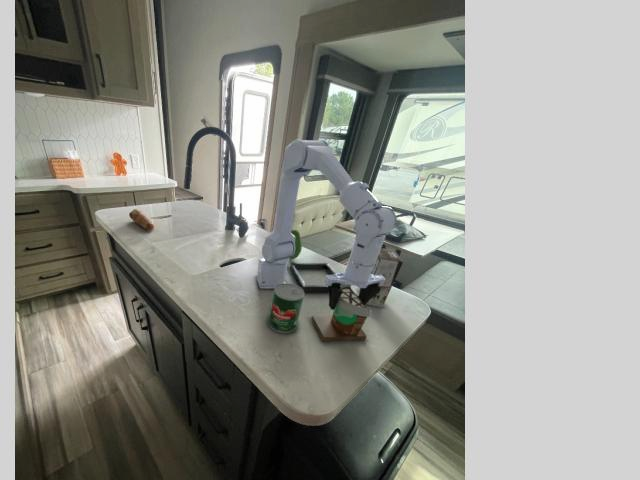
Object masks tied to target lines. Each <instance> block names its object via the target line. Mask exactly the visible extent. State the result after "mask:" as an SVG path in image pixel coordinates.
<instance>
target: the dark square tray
mask: <svg viewBox="0 0 640 480" xmlns="http://www.w3.org/2000/svg"><path fill="white" fill-rule="evenodd" d="M299 271H325V272H326V273H327V274H326V275H333V274H337V273H336V271H335V270H334V269H333V267H332V266H331V265H330V264H329V262H290V263H289V272H290V273H291V274H292V277H293V279H294V280H295V282H296V284H297V286H299V287H300V288H302V290H303V291H304V294H329V291H328V287H327V285H326V284H306V283H305V281H304V279H303V277H302V276H301V275H300V273H299ZM343 285H346V284H341V285H340V286H343Z"/></svg>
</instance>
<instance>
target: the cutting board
mask: <svg viewBox="0 0 640 480" xmlns="http://www.w3.org/2000/svg"><path fill="white" fill-rule="evenodd" d="M332 315H333V314H331V315H312V317H311V321H312V323H313V325H314V328H315V330H316V331H317V333H318V335H319V338H320V339H321V342H341V341H342V342H345V341H347V342H348V341H365V340H366V338H367V334H366V333H365V332H364V330H363V329H362V328H361V329H360V331H359V333H358V335H357V337H352V336H347V335H344V334H342V333H340V332H338V331H337V330H336V329H335V328H334V327H333V326H332V324H331V319H332Z"/></svg>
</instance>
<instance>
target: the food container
mask: <svg viewBox="0 0 640 480" xmlns="http://www.w3.org/2000/svg"><path fill="white" fill-rule="evenodd" d="M341 290H342V291H343V293H342V294H341V296H340V298H339V299H338V302H337V304H336V307H335V309H334V310H332V314H331V315H332V319H331V324H332V326H333V327H334V328H335V329H336V330H337V331H338V332H340V333H342V334H344V335H347V336H352V337H357V335H358V333H359V331H360V329H362V328H363V326H364V324H365V322H366V320H367V318H370V317H371V312H372V308H369V307H368V308H367V307H366V304H365V305H364V304H363V302H362V301H361V299H360V297H359V294H357V293H356V292H355V291H354V290H353V289H352V285H348V284H345V285H343V286H341Z"/></svg>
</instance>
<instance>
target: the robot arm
mask: <svg viewBox="0 0 640 480" xmlns="http://www.w3.org/2000/svg"><path fill="white" fill-rule="evenodd" d="M311 171H319V172H320V173H321V174H322V175H323V176H324V177H325V178H326V179H327V180H328V181H329V183H330V184H331V185H332V186H333V187H334V188H335V189H336V190H337V191H338V193H339V197H338V199H339V200H338V201H339V202H340V204H341V205H342V207H344V209H345V210H346V212H348V214H349V216H351V218H352V219H353V220H354V229H355V237H354V242H353V245H352V249H351V251H350V254H349V258H348V261H347V264H346V267H345V270H344V271H343V272H338V273H336V274H333V275H328V274H326V276H325V279H324V283H325V285H327V287H328V291H329V293H328V307H329V308H330V310H331V311H333V310H334V309H335V307H336V304H337V302H338V299H339V298H340V296H341V294H342V293H343V291H342V290H341V286H340V285H341V284H345V285H346V284H348V285H351V286H354V287H357V288H360V293H359V292H358V296H359V297H360V299H361V301H362V302H363V304H364V305H365V306H366V305H367V304H366V303H367V302H368V301H369V300H370V299H371V298H372V297H374V296H375V295H376V294H378V293H379V292H380V290H381V289H380V288H379V287H378V285H379V286H383V284H384V282H385V278H384V277H383V276H382V275H373V274H371V272H372V270H373V267H374V265H375V262H376V260H377V257H378V255H379V252H380V250H381V249H382V247H383V245H384V242H385V239H386V236H387V235H386V234H389V233H391V232H392V231H393V230H394V229H395V227H396V224H397V215H396V213H395V211H394V209H393V208H392V207H390V206H385V205H383V203H382V201H381V200H378V199H377V198H376V197H375V196H374V195H373V193H372V192H371V191H370V190H369V189H370V186H369V184H368V183H367V182H362V181H359V180H357V181H354V180H353V179H352V178H351V176H350V175H349V173H348V172H347V171H346V169H345V168H344V166H343V165H342V164H341V162H340V161H339V159H338V158H337V156H336V155H335V154H334V148H333V147H332V146H330V145H329V143H328V142H327V141H326V140H324V139H319V140H311V139H310V140H309V139H308V140H307V139H294V140H292V141H291V142H290V143H288V145H287V146H286V147H285V149H284V158H283V164H282V167H281V169H280V176H279V177H280V179H279V185H278V193H277V201H276V208H275V215H274V223H273V229H272V231H271V232H269V234H267V236H265V238H264V242H263V244H262V248H261V254H262V257H263V258H260V259H259V260H258V264H257V272H256V273H257V274H256V280H257V283H258V287H259V289H263V290H265V289H267V290H268V289H270V290H271V289H273V290H274V288H275V287H276V286H277V285H279V284H283V283H286V281H285V279H286V273H287V269H288V263H289V261H290V260H291V259H290V257H292V256H293V255H294V253H295V237H294V235H293V234H291V230H293V229H292V228H293V223H294V217H295V212H296V211H295V210H296V205H297V200H298V194H299V188H300V183H301V178H303V177H304V176H306V175H307V174H308V173H310V172H311Z"/></svg>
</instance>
